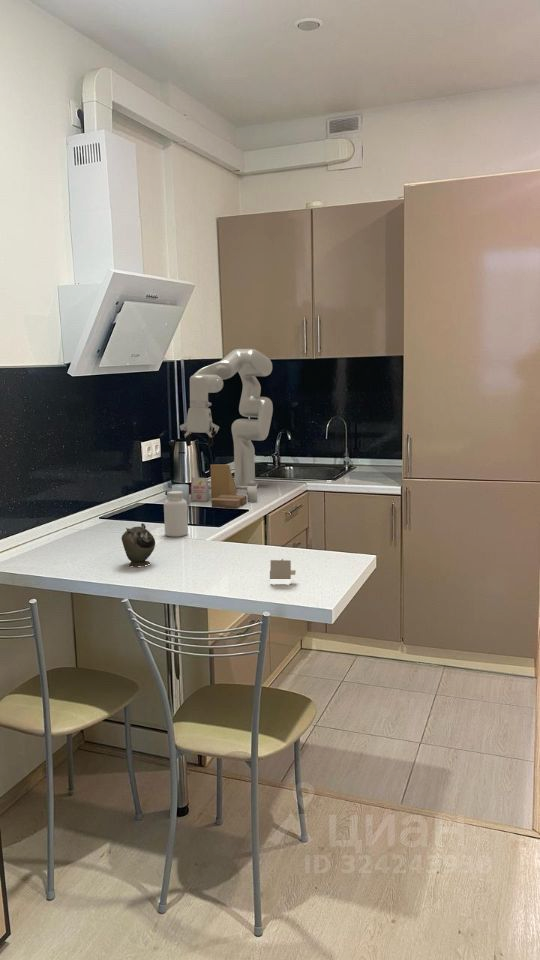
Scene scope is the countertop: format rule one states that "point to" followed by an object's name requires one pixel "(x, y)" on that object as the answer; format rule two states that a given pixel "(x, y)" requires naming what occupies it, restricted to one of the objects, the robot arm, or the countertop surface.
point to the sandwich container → (222, 481)
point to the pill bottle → (175, 514)
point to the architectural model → (281, 569)
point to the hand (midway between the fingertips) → (199, 446)
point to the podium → (229, 501)
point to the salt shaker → (252, 491)
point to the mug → (183, 488)
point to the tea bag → (199, 489)
